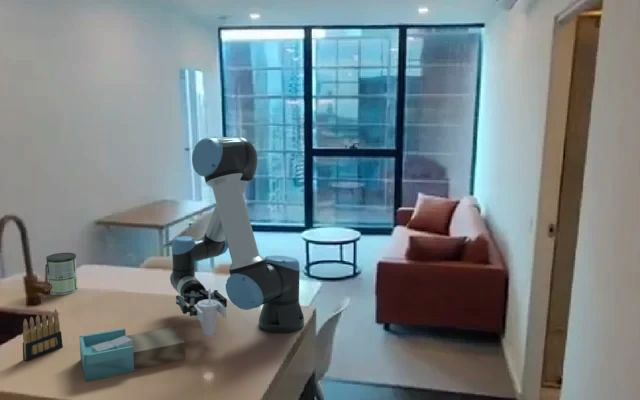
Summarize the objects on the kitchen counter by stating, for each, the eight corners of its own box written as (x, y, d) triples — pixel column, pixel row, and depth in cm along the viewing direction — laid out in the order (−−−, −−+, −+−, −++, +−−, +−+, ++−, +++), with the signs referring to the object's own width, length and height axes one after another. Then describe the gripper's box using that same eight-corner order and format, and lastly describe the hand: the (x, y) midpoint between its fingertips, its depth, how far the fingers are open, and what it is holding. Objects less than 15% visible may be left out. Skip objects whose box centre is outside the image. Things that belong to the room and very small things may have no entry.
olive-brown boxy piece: (174, 342, 154) (174, 326, 153) (185, 358, 143) (184, 342, 143) (126, 352, 147) (125, 335, 146) (133, 369, 137) (132, 352, 136)
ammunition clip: (26, 361, 140) (23, 320, 138) (22, 359, 141) (19, 319, 139) (63, 347, 149) (60, 308, 147) (59, 345, 150) (56, 307, 148)
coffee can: (43, 291, 196) (41, 256, 194) (69, 284, 204) (67, 251, 202) (56, 297, 190) (54, 261, 188) (83, 290, 198) (81, 255, 196)
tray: (125, 350, 147) (124, 328, 146) (134, 371, 136) (133, 346, 135) (80, 359, 142) (79, 336, 140) (85, 381, 130) (83, 356, 129)
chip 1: (108, 349, 138) (107, 341, 138) (115, 354, 135) (115, 346, 135) (91, 354, 135) (91, 346, 135) (99, 360, 132) (98, 351, 132)
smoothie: (216, 338, 150) (215, 293, 147) (195, 337, 150) (194, 292, 147) (221, 328, 156) (220, 285, 154) (200, 328, 156) (199, 285, 154)
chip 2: (125, 343, 141) (124, 335, 141) (133, 348, 138) (132, 339, 138) (110, 350, 138) (108, 341, 138) (117, 354, 135) (116, 346, 134)
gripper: (219, 296, 172) (244, 321, 152) (162, 305, 163) (180, 333, 143) (219, 275, 171) (244, 297, 151) (161, 283, 161) (180, 308, 142)
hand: (213, 315), depth 147 cm, fingers closed on smoothie, 6 cm apart
